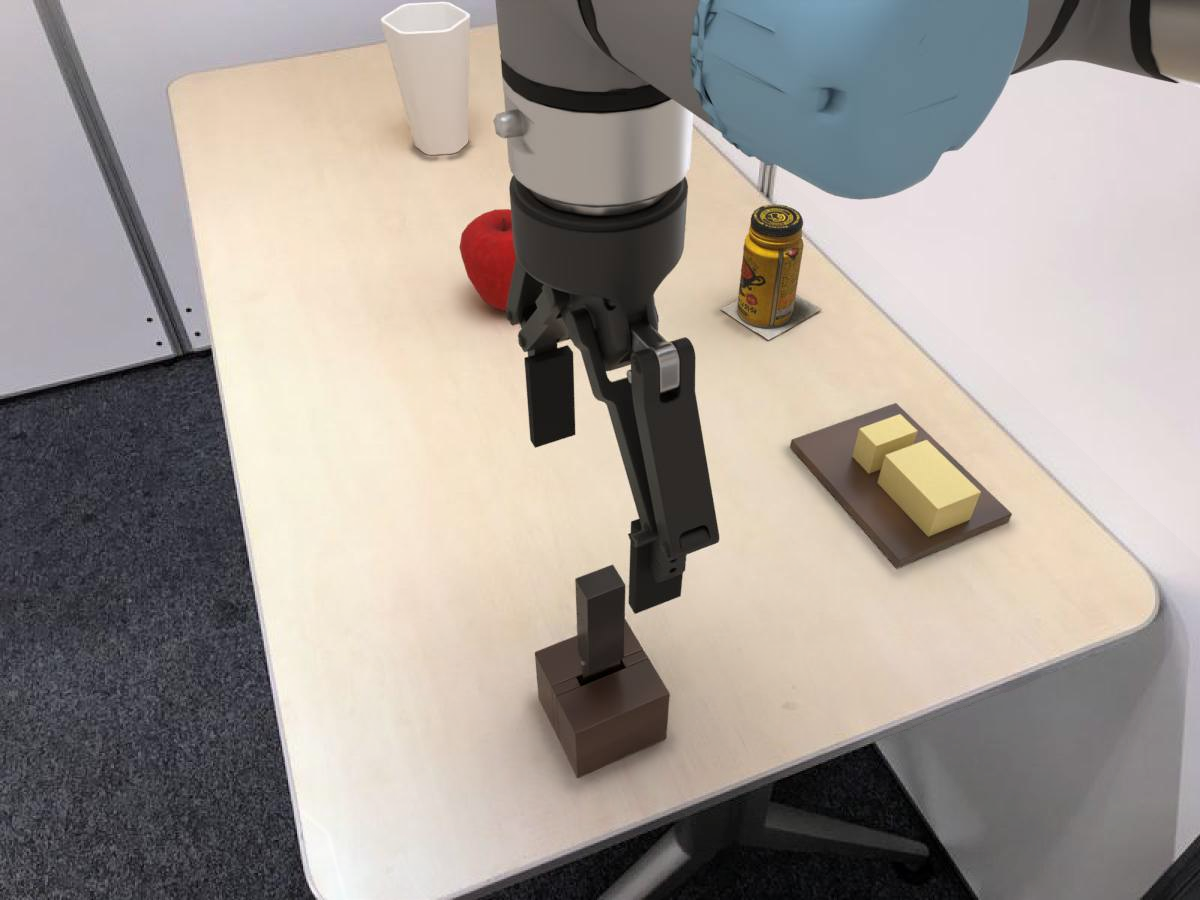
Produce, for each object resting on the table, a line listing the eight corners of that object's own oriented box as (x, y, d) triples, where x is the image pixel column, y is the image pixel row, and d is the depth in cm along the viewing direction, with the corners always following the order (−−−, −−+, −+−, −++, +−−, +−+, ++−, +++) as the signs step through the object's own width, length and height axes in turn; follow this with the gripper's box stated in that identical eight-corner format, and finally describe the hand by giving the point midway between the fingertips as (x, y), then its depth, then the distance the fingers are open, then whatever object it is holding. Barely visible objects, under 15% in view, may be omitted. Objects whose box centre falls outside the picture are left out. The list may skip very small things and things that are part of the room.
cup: (430, 120, 139) (413, -4, 127) (493, 132, 136) (481, 7, 124) (388, 154, 132) (366, 26, 120) (453, 168, 129) (437, 38, 117)
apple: (572, 295, 108) (569, 209, 100) (517, 338, 102) (510, 250, 95) (504, 267, 112) (497, 181, 105) (448, 306, 107) (436, 219, 99)
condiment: (719, 310, 106) (729, 213, 97) (773, 281, 110) (787, 186, 101) (768, 341, 102) (782, 243, 93) (822, 311, 106) (840, 214, 97)
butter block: (970, 519, 82) (981, 491, 80) (928, 537, 81) (938, 509, 79) (917, 467, 87) (926, 439, 85) (876, 482, 86) (884, 454, 83)
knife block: (666, 738, 69) (670, 693, 65) (577, 778, 67) (575, 734, 63) (623, 663, 74) (624, 616, 69) (538, 697, 71) (534, 651, 67)
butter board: (1009, 521, 84) (1012, 513, 83) (896, 568, 80) (899, 560, 79) (893, 410, 94) (896, 402, 93) (789, 447, 90) (791, 439, 90)
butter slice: (909, 458, 88) (917, 430, 85) (868, 474, 86) (876, 446, 84) (892, 441, 89) (900, 413, 87) (852, 456, 88) (859, 428, 86)
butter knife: (624, 720, 70) (627, 584, 59) (589, 735, 69) (585, 600, 58) (613, 700, 71) (614, 563, 60) (578, 715, 70) (573, 578, 59)
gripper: (420, 73, 47) (464, 399, 62) (657, 371, 31) (639, 714, 46) (561, 46, 49) (571, 367, 64) (850, 311, 33) (773, 657, 48)
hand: (599, 512), depth 55 cm, fingers open, 13 cm apart
